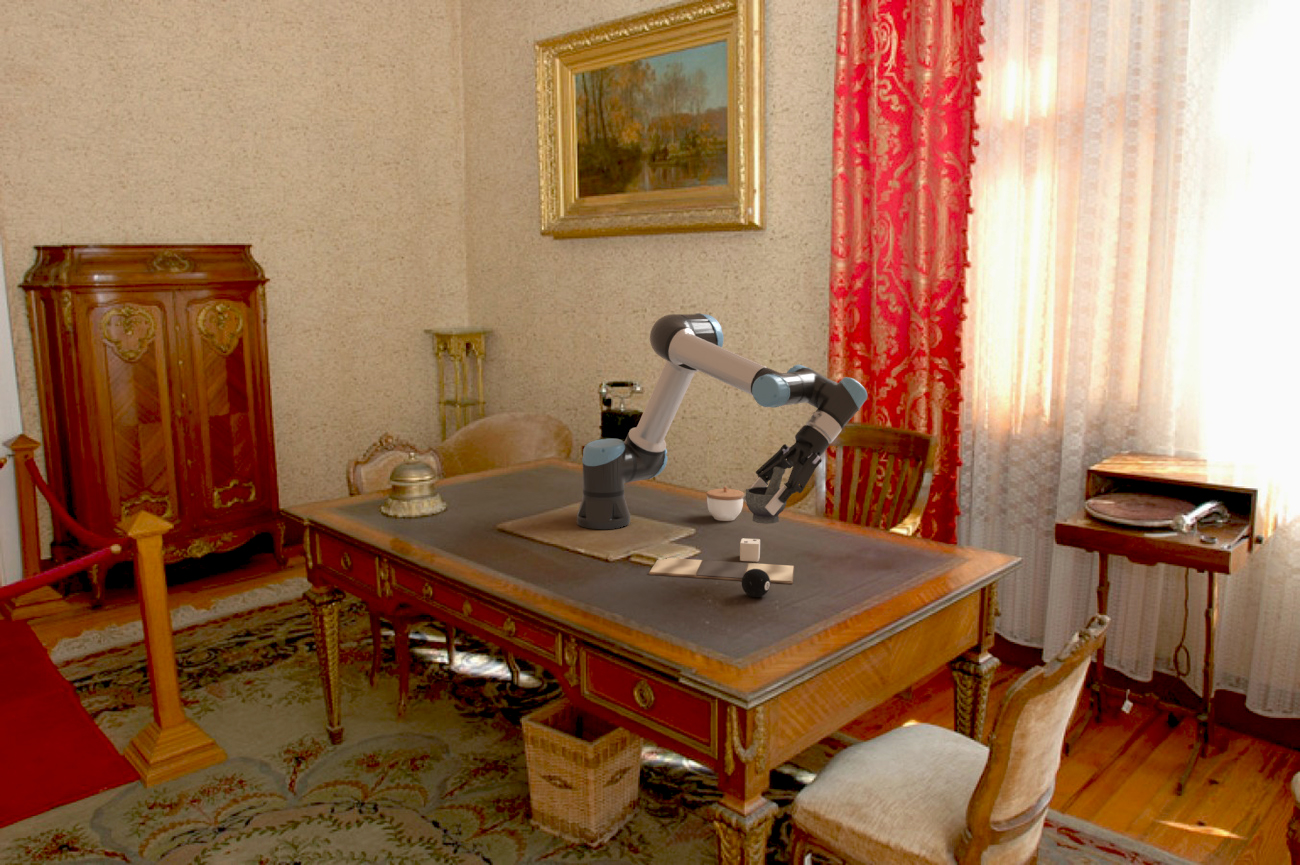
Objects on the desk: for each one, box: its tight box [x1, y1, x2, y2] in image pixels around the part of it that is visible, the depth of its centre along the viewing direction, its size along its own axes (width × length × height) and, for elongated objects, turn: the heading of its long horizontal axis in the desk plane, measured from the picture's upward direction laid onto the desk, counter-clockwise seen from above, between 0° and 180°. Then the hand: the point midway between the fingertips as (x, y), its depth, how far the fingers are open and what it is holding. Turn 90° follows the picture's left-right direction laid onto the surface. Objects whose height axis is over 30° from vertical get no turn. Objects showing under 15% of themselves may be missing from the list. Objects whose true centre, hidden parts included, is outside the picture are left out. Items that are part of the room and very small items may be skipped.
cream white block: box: [739, 538, 761, 563], centre depth 222 cm, size 4×4×5 cm
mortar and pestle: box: [745, 467, 788, 525], centre depth 208 cm, size 11×9×12 cm
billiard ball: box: [741, 569, 771, 598], centre depth 194 cm, size 6×6×6 cm
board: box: [647, 557, 795, 585], centre depth 212 cm, size 33×13×1 cm, turn 79°
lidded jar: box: [706, 486, 745, 522], centre depth 262 cm, size 11×11×9 cm
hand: (757, 506), depth 207 cm, fingers closed on mortar and pestle, 10 cm apart
